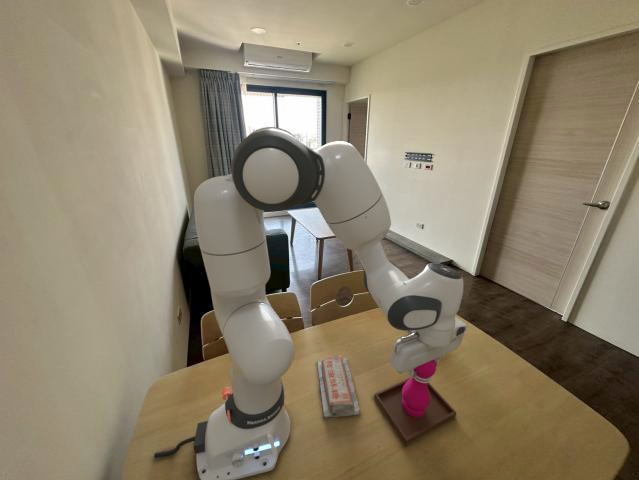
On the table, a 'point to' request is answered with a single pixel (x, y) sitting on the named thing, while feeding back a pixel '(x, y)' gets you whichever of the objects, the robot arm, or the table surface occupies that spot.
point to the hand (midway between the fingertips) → (422, 369)
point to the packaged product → (337, 388)
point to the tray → (410, 425)
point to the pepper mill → (418, 390)
